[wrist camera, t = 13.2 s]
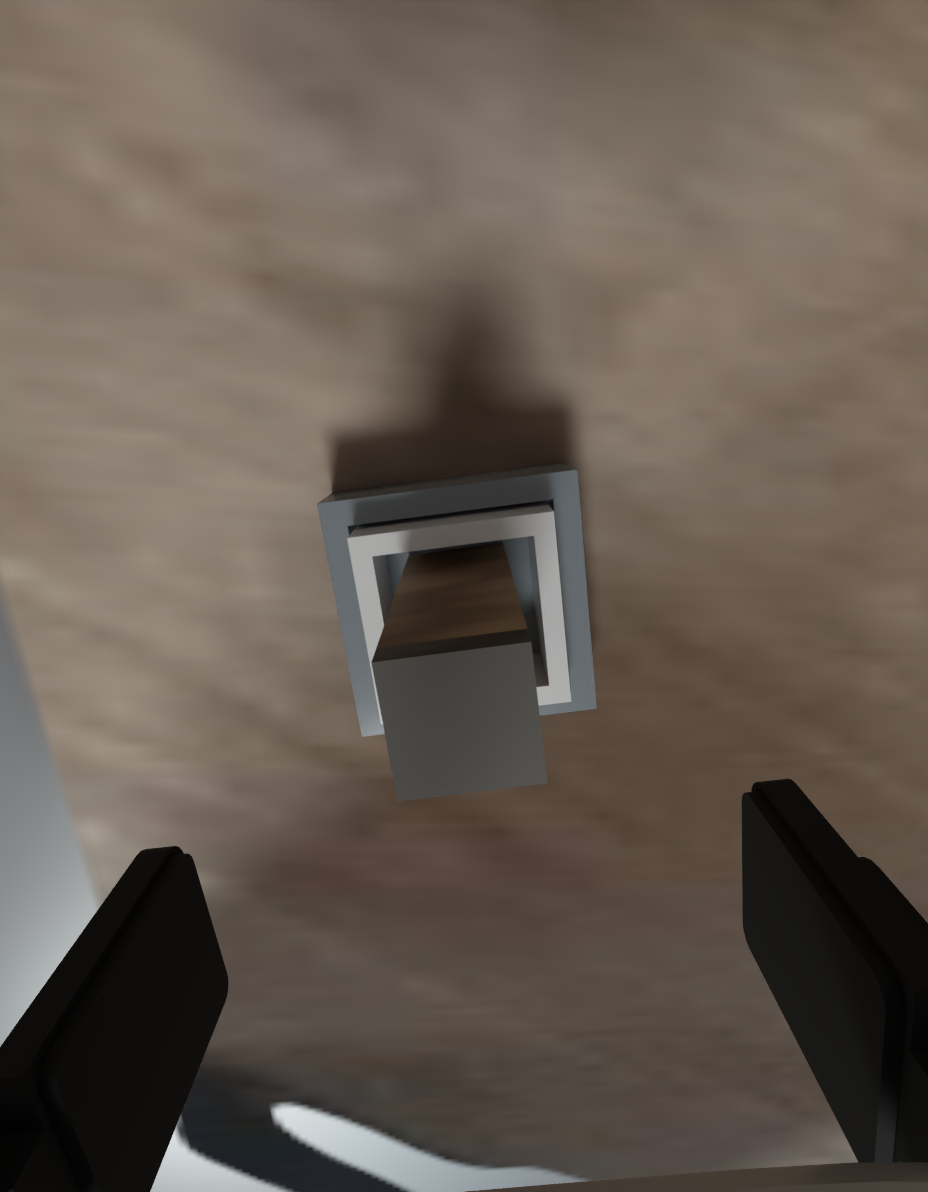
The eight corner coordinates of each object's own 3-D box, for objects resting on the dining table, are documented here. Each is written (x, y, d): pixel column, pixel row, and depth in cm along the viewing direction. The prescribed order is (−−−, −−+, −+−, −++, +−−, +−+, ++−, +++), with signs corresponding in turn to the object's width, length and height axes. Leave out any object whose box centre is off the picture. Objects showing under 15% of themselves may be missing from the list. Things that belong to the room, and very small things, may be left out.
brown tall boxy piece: (502, 542, 28) (531, 641, 16) (513, 631, 29) (547, 783, 17) (408, 555, 28) (371, 662, 16) (423, 643, 29) (397, 801, 18)
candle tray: (565, 462, 28) (584, 473, 24) (583, 679, 31) (604, 725, 26) (331, 493, 28) (308, 509, 24) (371, 705, 31) (356, 754, 27)
